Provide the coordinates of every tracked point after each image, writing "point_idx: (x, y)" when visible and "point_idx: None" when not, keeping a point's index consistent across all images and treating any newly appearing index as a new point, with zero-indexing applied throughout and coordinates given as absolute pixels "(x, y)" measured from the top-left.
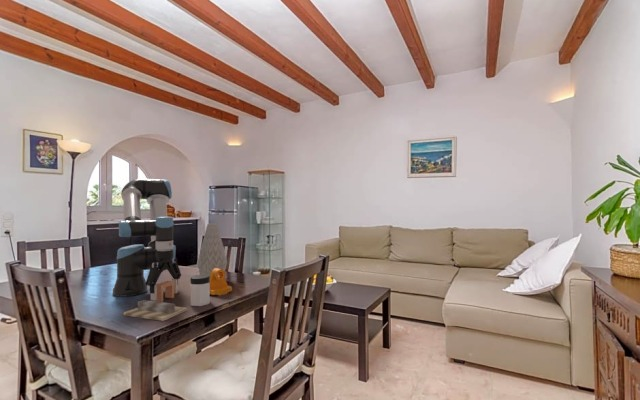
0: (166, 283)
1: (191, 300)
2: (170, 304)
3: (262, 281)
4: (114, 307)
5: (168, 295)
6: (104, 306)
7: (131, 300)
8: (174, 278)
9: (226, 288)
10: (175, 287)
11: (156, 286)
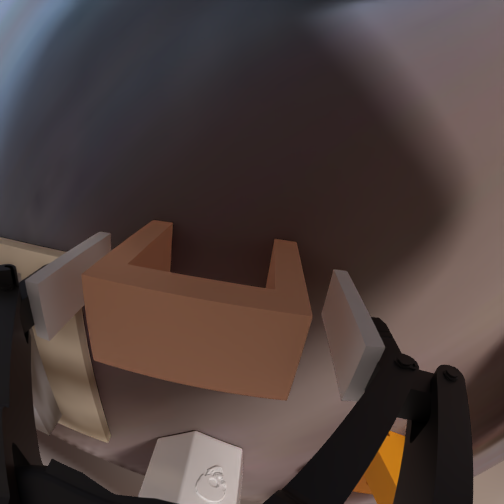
0: (179, 372)
1: (152, 458)
2: (36, 425)
3: (500, 460)
4: (16, 73)
5: (268, 276)
6: (30, 9)
7: (141, 29)
8: (373, 376)
9: (366, 493)
10: (331, 336)
11: (52, 335)
